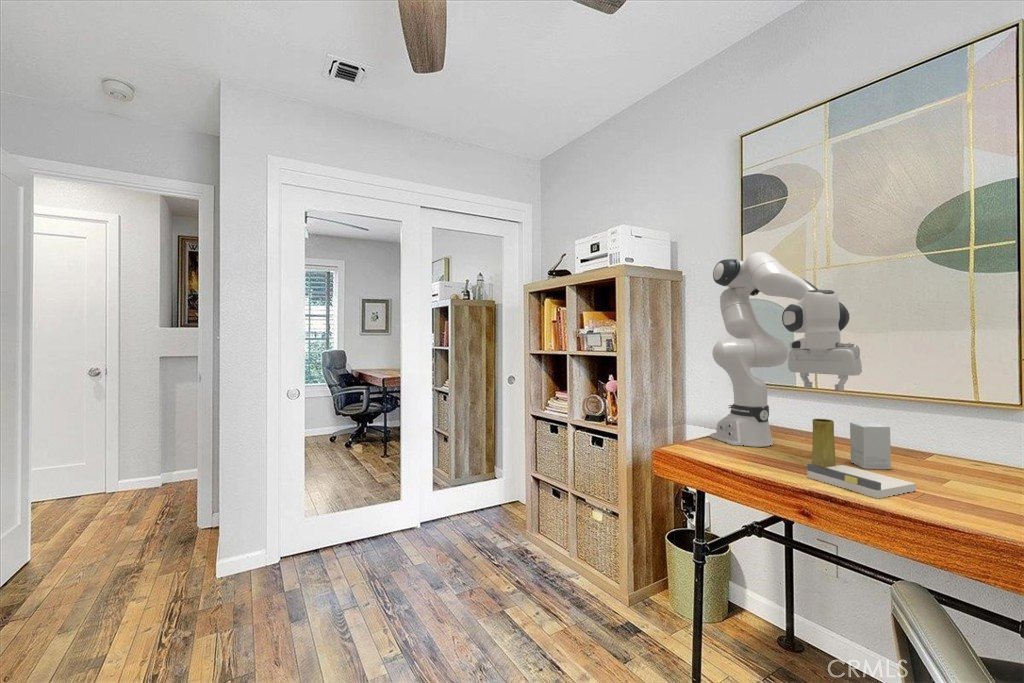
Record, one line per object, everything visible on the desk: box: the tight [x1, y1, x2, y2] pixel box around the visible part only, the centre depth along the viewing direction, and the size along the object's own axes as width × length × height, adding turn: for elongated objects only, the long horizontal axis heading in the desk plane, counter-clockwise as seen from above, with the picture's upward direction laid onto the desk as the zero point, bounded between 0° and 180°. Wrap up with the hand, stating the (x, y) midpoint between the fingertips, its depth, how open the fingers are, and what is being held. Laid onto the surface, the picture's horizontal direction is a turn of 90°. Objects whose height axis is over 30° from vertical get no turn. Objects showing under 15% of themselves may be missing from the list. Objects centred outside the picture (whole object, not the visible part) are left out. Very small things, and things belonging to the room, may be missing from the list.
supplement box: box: [849, 422, 892, 470], centre depth 135 cm, size 7×7×13 cm
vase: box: [811, 418, 837, 468], centre depth 134 cm, size 6×6×14 cm
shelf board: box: [806, 463, 917, 500], centre depth 119 cm, size 18×14×4 cm
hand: (823, 389), depth 134 cm, fingers open, 8 cm apart
